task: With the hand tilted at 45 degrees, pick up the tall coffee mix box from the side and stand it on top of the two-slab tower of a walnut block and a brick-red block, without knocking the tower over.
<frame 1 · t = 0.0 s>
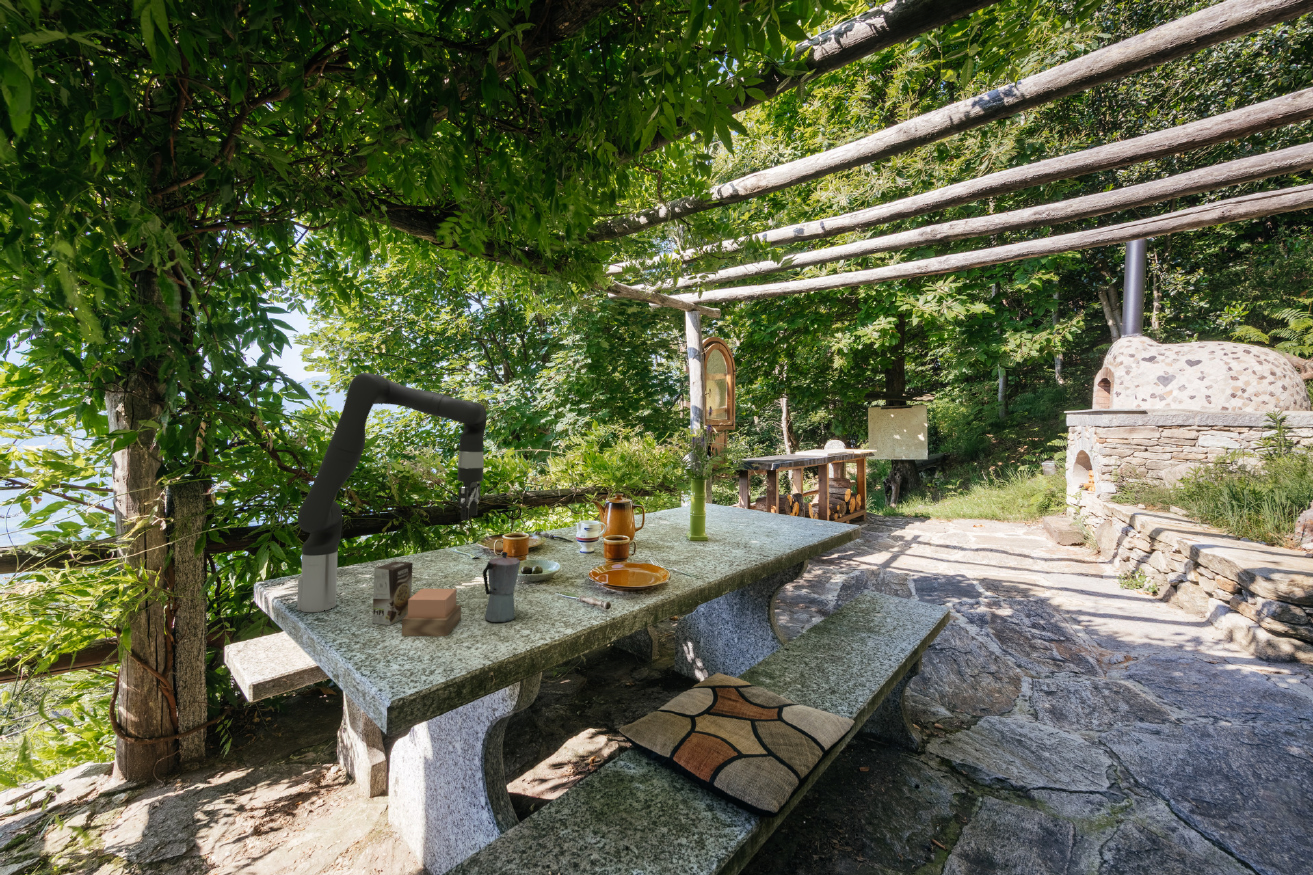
hand: (469, 517, 162), 29 cm above the table, tool pointing down, fingers open, 8 cm apart
tower top block: (432, 611, 149), point 5 cm above the table, touching tower base block
moka pot: (499, 619, 157), on the table
tower base block: (432, 629, 148), on the table, touching tower top block
coffee box: (392, 619, 154), on the table
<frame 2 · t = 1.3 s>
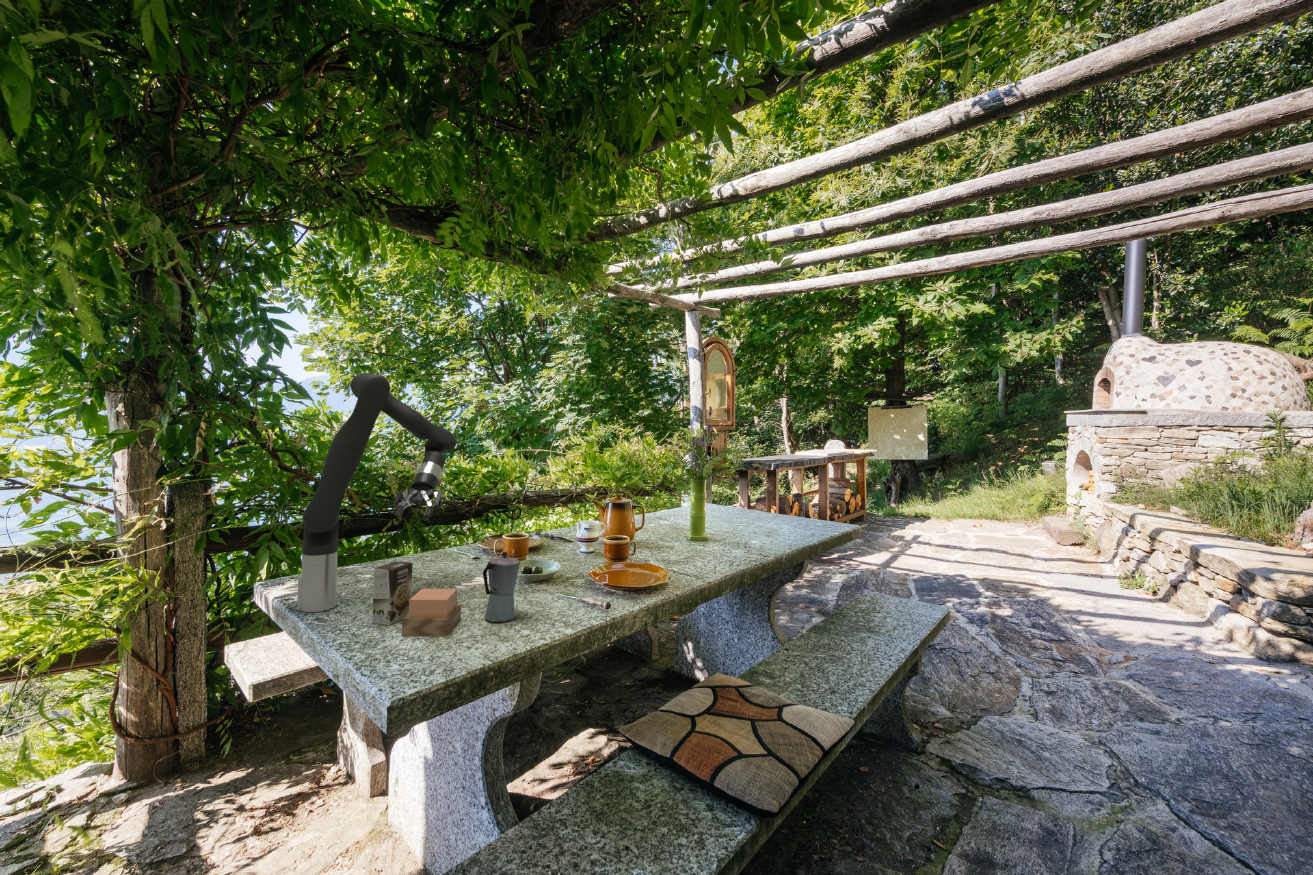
hand: (411, 517, 165), 28 cm above the table, tool tilted 45°, fingers open, 8 cm apart
nothing on the table moved.
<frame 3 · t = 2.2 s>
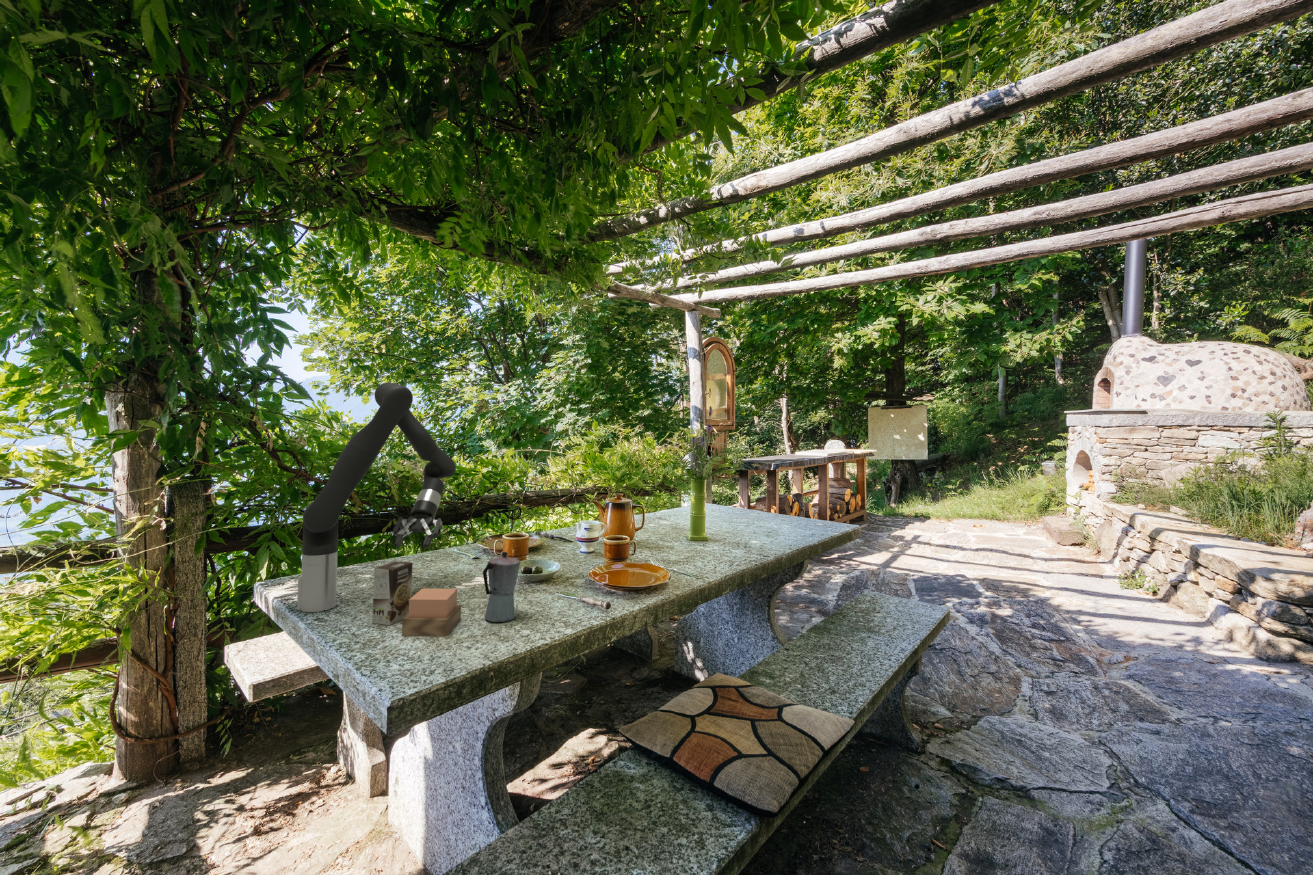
hand: (411, 546, 165), 19 cm above the table, tool tilted 45°, fingers open, 8 cm apart
nothing on the table moved.
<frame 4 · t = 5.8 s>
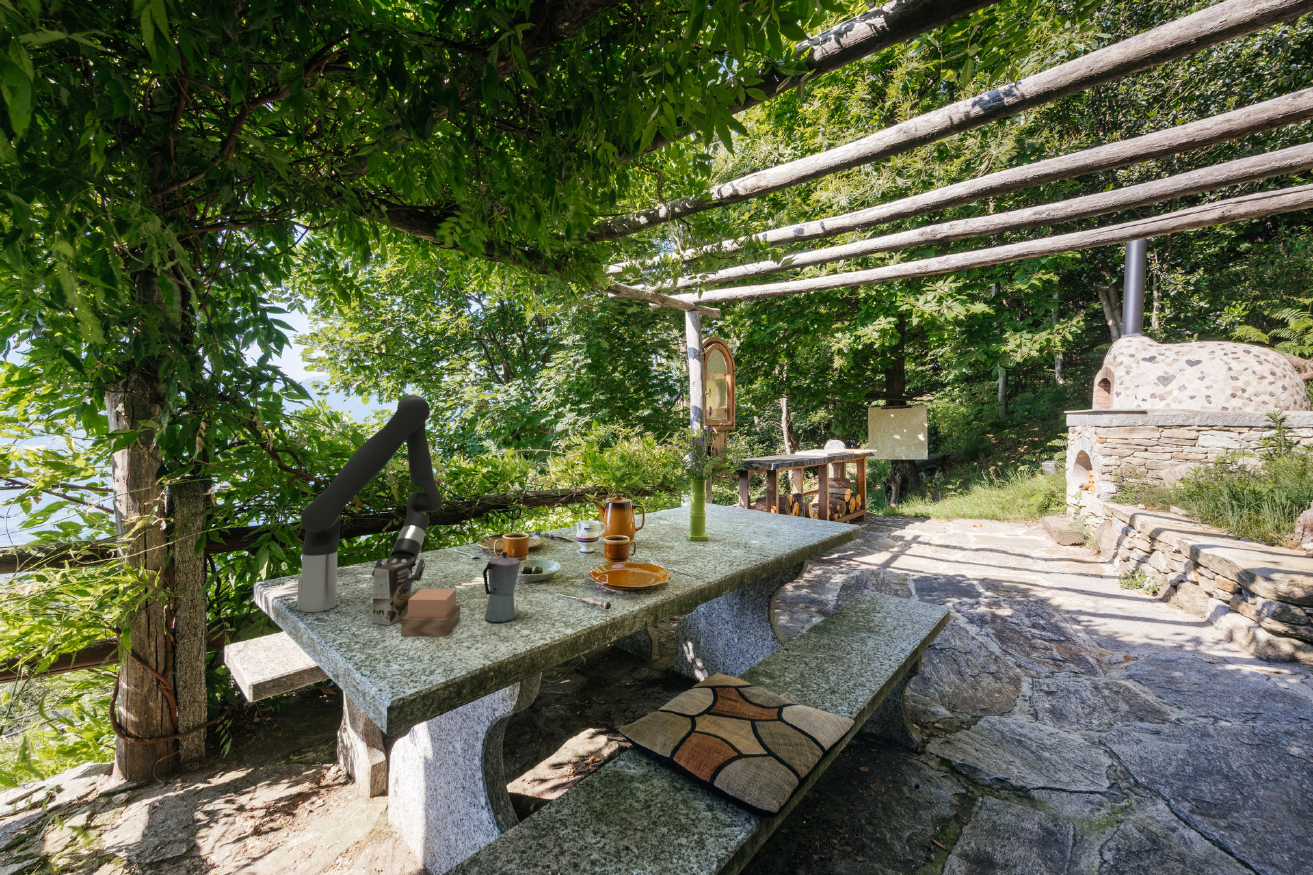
hand: (390, 591, 152), 9 cm above the table, tool tilted 45°, fingers closed on coffee box, 7 cm apart
coffee box: (392, 619, 154), on the table, touching gripper
everything else where it was.
when the fingers open (20 cm above the table, at t = 12.3 s): coffee box drops 2 cm, resting on tower top block.
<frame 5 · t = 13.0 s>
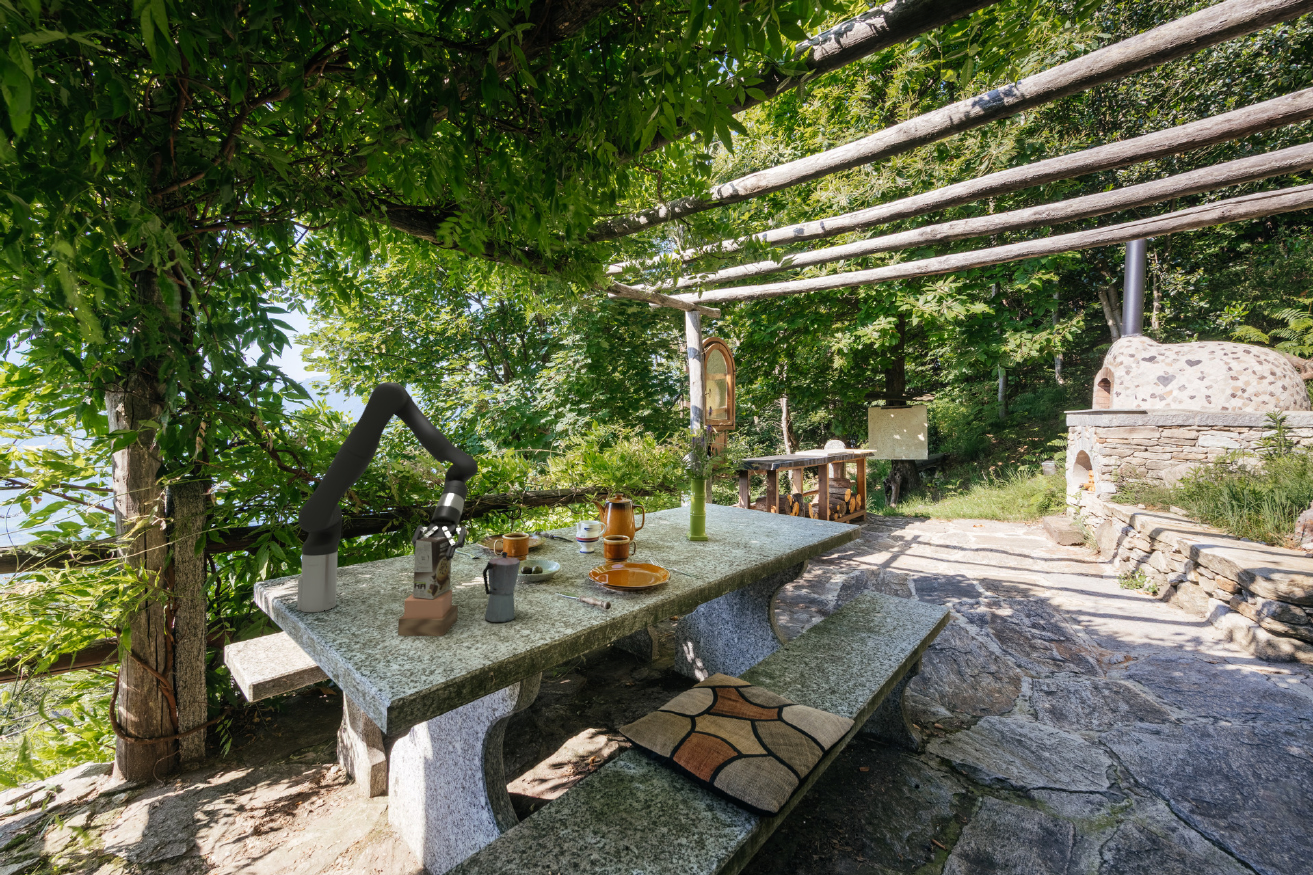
hand: (432, 558, 147), 20 cm above the table, tool tilted 45°, fingers open, 8 cm apart
tower top block: (428, 612, 148), point 4 cm above the table, touching coffee box, tower base block
coffee box: (432, 594, 149), point 9 cm above the table, touching gripper, tower top block
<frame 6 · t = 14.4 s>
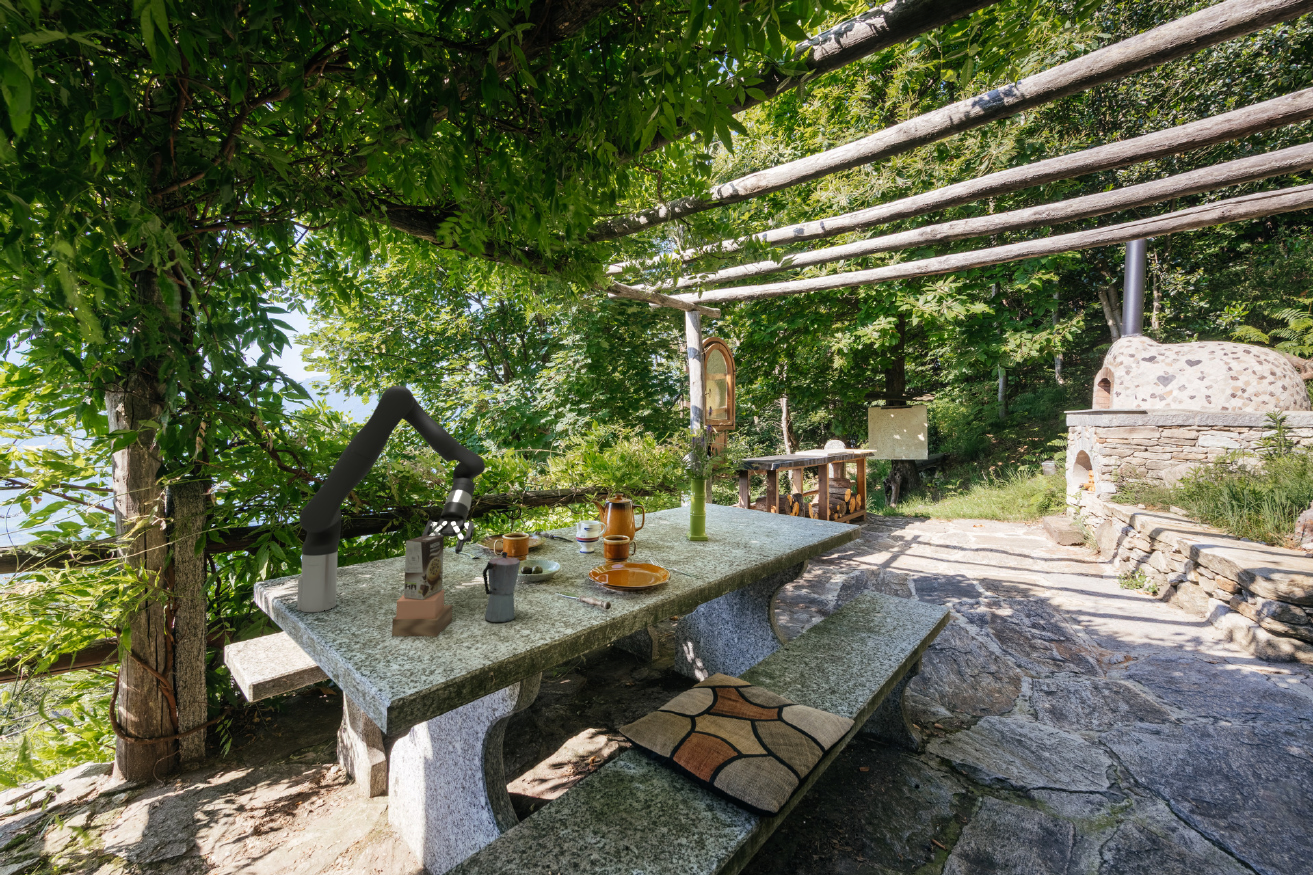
hand: (442, 552, 154), 20 cm above the table, tool tilted 45°, fingers open, 8 cm apart
tower top block: (421, 612, 147), point 5 cm above the table, touching coffee box, tower base block
tower base block: (423, 629, 148), on the table, touching tower top block
coffee box: (423, 594, 148), point 9 cm above the table, touching tower top block
everything else where it was.
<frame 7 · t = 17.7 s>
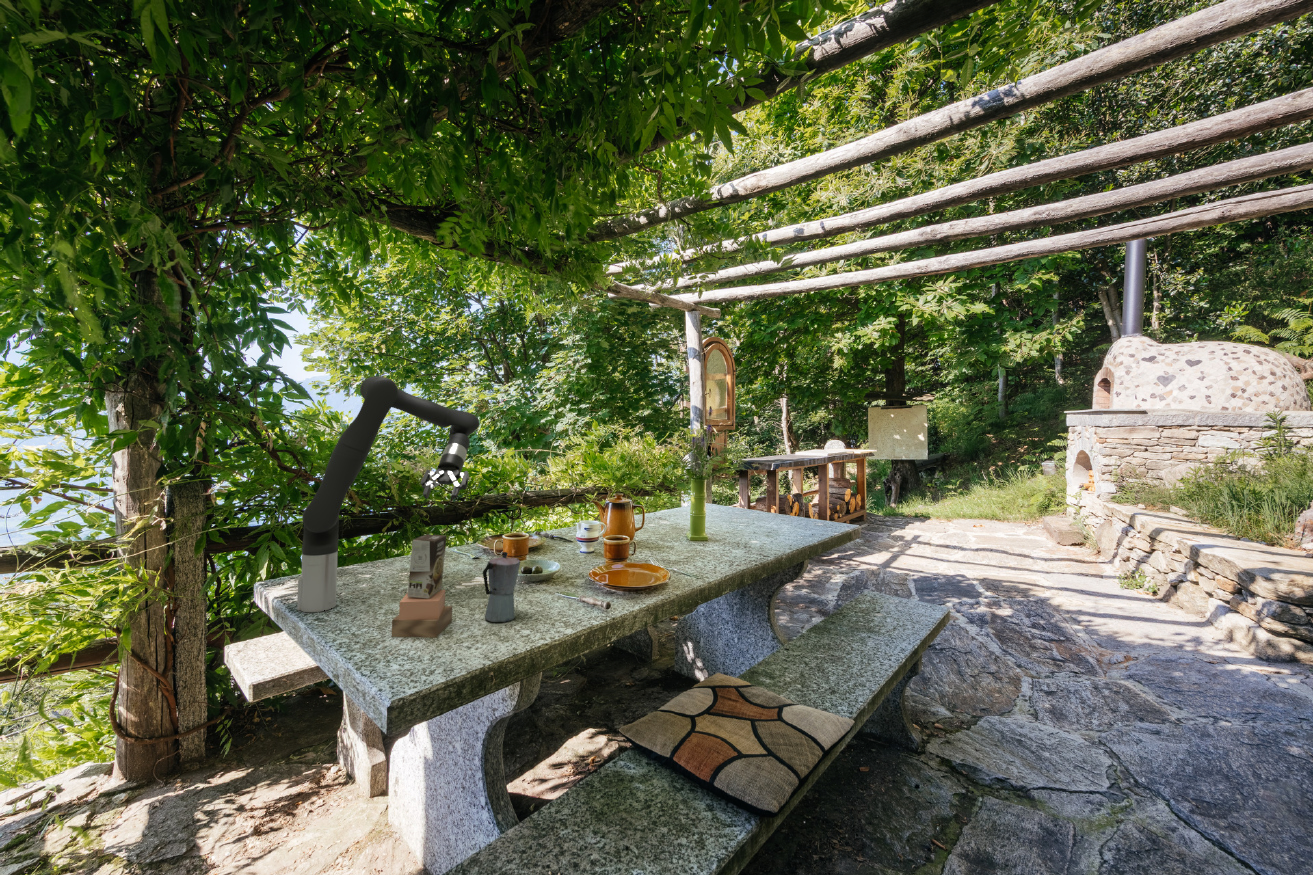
hand: (439, 497, 166), 35 cm above the table, tool tilted 45°, fingers open, 8 cm apart
at the end: coffee box 1.5 cm off-centre on the tower top block, point 4.9 cm above the tower top block's base; tower top block 0.3 cm off-centre on the tower base block, point 5.0 cm above the tower base block's base; coffee box tilted 3° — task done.
